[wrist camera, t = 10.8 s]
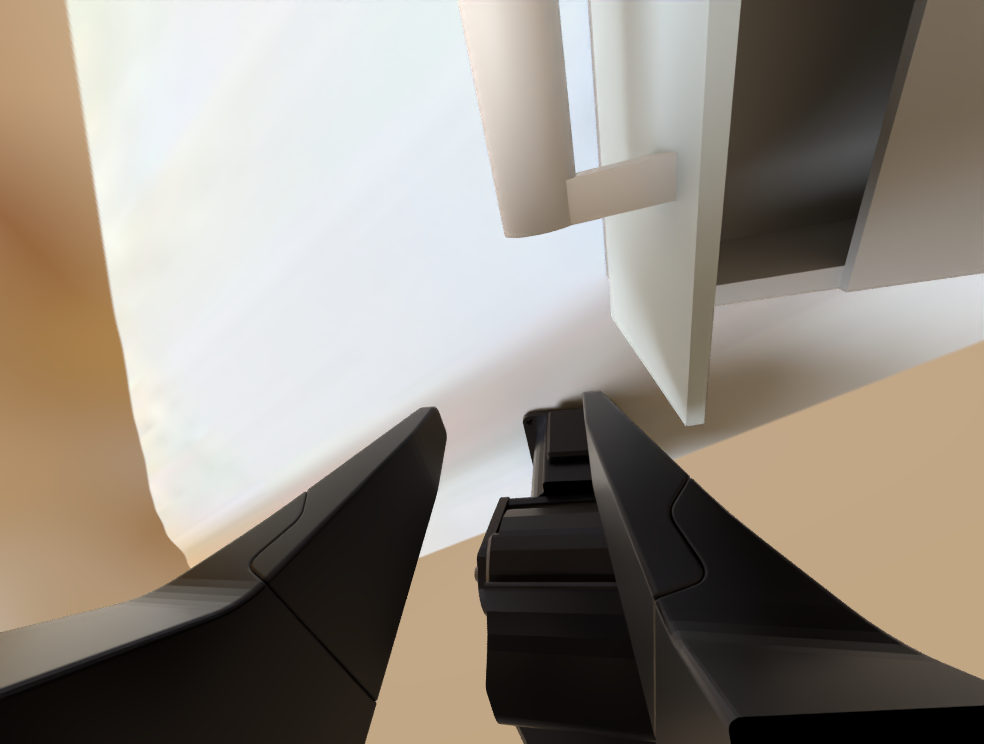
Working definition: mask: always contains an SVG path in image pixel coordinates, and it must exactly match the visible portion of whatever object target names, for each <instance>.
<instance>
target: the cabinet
mask: <svg viewBox="0 0 984 744" xmlns="http://www.w3.org/2000/svg"><path fill="white" fill-rule="evenodd" d="M588 8H589V23H590V38H591V52H592V67H593V82H594V96H595V111H596V126H597V140H598V155H599V167H602V166H601V151H600V136H599V120H598V105H597V90H596V74H595V59H594V44H593V29H592V13H591V0H588ZM603 228H604V243H605V258H606V272H607V276H608V279H609V273H608V258H607V242H606V227H605V217H604V218H603ZM980 273H984V0H741V8H740V20H739V31H738V42H737V54H736V65H735V77H734V88H733V99H732V111H731V122H730V134H729V145H728V156H727V168H726V179H725V191H724V202H723V213H722V225H721V236H720V247H719V259H718V270H717V282H716V293H715V304H714V306H719V305H726V304H733V303H740V302H747V301H754V300H761V299H768V298H775V297H782V296H789V295H796V294H803V293H810V292H817V291H824V290H831V289H838V288H839V289H841V290H843V291H845V292H852V291H859V290H866V289H873V288H880V287H888V286H895V285H902V284H909V283H916V282H923V281H930V280H938V279H945V278H952V277H959V276H966V275H973V274H980Z"/></svg>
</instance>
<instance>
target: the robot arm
mask: <svg viewBox="0 0 984 744" xmlns="http://www.w3.org/2000/svg"><path fill="white" fill-rule="evenodd" d="M582 398H583V408H581V409H569V410H558V411H547V412H536V413H527V414H526V415H524V417H523V425H524V429H525V433H526V438H527V442H528V446H529V450H530V455H531V459H532V463H533V477H532V491H531V497H526V498H511V499H510V498H509V497H501V498H500V499H499V502H498V504H497V507H496V509H495V511H494V514H493V516H492V519H491V521H490V524H489V526H488V529H487V531H486V534H485V536H484V539H483V542H482V544H481V547H480V549H479V552H478V555H477V567H476V568H475V579H476V581H477V582H478V590H479V597H480V602H481V606H482V609H483V611H484V614H485V615H486V616H487V631H488V632H487V633H488V636H487V669H486V691H487V695H488V698H489V701H490V704H491V707H492V710H493V713H494V716H495V719H496V721H497V722H498V723H499V724H505V725H513V726H516V728H517V730H518V732H519V734H520V736H521V739H522V740H523V743H524V744H984V680H982V679H980V678H978V677H976V676H973V675H971V674H968V673H966V672H964V671H961V670H959V669H956V668H954V667H952V666H949V665H947V664H945V663H942V662H940V661H938V660H936V659H933V658H931V657H929V656H927V655H925V654H922V653H921V652H919V651H917V650H915V649H913V648H911V647H909V646H908V645H906V644H904V643H903V642H901V641H899V640H897V639H896V638H894V637H892V636H891V635H889V634H887V633H886V632H884V631H883V630H881V629H880V628H878V627H877V626H875V625H874V624H872V623H871V622H869V621H868V620H866V619H865V618H863V617H862V616H861V615H859V614H858V613H857V612H855V611H854V610H853V609H851V608H850V607H849V606H847V605H846V604H845V603H843V602H842V601H841V600H840V599H838V598H837V597H836V596H834V595H833V594H832V593H831V592H829V591H828V590H827V589H825V588H824V587H823V586H822V585H820V584H819V583H818V582H816V581H815V580H814V579H813V578H811V577H810V576H809V575H807V574H806V573H805V572H803V571H802V570H801V569H800V568H798V567H797V566H796V565H795V564H793V563H792V562H791V561H789V560H788V559H787V558H786V557H784V556H783V555H782V554H780V553H779V552H778V551H777V550H775V549H774V548H773V547H771V546H770V545H769V544H768V543H766V542H765V541H764V540H763V539H761V538H760V537H759V536H758V535H756V534H755V533H754V532H753V531H751V530H750V529H749V528H748V527H746V526H745V525H744V524H743V523H741V522H740V521H739V520H738V519H737V518H735V517H734V516H733V515H732V514H730V513H729V512H728V511H727V510H726V509H725V508H724V507H723V506H722V505H720V504H719V503H718V502H717V501H716V500H715V499H714V498H713V497H711V496H710V495H709V494H708V493H707V492H706V491H705V490H704V489H703V488H702V487H701V486H700V485H699V484H698V483H697V482H695V480H694V479H692V478H690V476H689V475H688V474H687V473H686V472H685V471H684V470H683V469H682V468H681V467H680V466H679V465H678V464H677V463H675V462H674V461H673V460H672V459H671V458H670V457H669V456H668V455H667V454H666V453H665V452H664V451H663V450H662V449H661V448H660V447H659V446H658V445H657V444H656V443H655V442H653V441H652V440H651V439H650V438H649V437H648V436H647V435H646V434H645V433H644V432H643V431H642V430H641V429H640V428H639V427H638V426H637V425H636V424H635V423H634V422H633V421H631V420H630V419H629V418H628V417H627V416H626V415H625V414H624V413H623V412H622V411H621V410H620V409H619V408H618V407H617V406H616V405H615V404H614V403H613V402H612V401H611V400H609V399H608V398H607V397H606V396H605V395H604V394H603V393H602V392H601V391H590V392H584V393H583V394H582ZM529 419H530V420H533V421H528V420H529ZM446 440H447V434H446V430H445V427H444V424H443V422H442V419H441V416H440V413H439V411H438V409H437V408H436V407H422V408H420V409H418V410H417V411H415V412H414V413H413V414H411V415H410V416H409V417H407V418H406V419H404V420H403V421H402V422H400V423H399V424H398V425H396V426H395V427H393V428H392V429H391V430H389V431H388V432H386V433H385V434H384V435H382V436H381V437H380V438H378V439H377V440H375V441H374V442H373V443H371V444H370V445H369V446H367V447H366V448H364V449H363V450H362V451H360V452H359V453H358V454H356V455H355V456H353V457H352V458H351V459H349V460H348V461H347V462H345V463H344V464H342V465H341V466H340V467H338V468H337V469H336V470H334V471H333V472H331V473H330V474H329V475H327V476H326V477H325V478H323V479H322V480H320V481H319V482H318V483H316V484H315V485H314V486H312V487H311V488H309V489H308V491H307V492H304V493H302V494H301V495H300V496H298V497H297V498H296V499H294V500H293V501H291V502H290V503H289V504H287V505H286V506H284V507H283V508H282V509H280V510H279V511H277V512H276V513H274V514H273V515H272V516H270V517H269V518H267V519H266V520H264V521H263V522H261V523H260V524H258V525H257V526H255V527H254V528H252V529H251V530H249V531H248V532H246V533H245V534H243V535H242V536H240V537H239V538H237V539H236V540H234V541H233V542H231V543H230V544H228V545H226V546H225V547H223V548H222V549H220V550H219V551H217V552H216V553H214V554H213V555H211V556H210V557H208V558H206V559H205V560H203V561H202V562H200V563H199V564H197V565H196V566H194V567H193V568H191V569H190V570H188V571H187V572H185V573H184V574H182V575H180V576H179V577H177V578H176V579H174V580H172V581H171V582H169V583H167V584H166V585H164V586H162V587H160V588H158V589H156V590H154V591H152V592H150V593H148V594H145V595H143V596H141V597H138V598H135V599H132V600H129V601H126V602H123V603H119V604H116V605H112V606H108V607H103V608H100V609H96V610H91V611H87V612H83V613H79V614H75V615H70V616H66V617H62V618H58V619H54V620H50V621H46V622H42V623H38V624H34V625H29V626H25V627H21V628H17V629H13V630H9V631H5V632H0V744H365V741H366V738H367V734H368V731H369V727H370V724H371V721H372V717H373V713H374V710H375V707H376V702H375V701H376V700H377V699H378V696H379V692H380V689H381V685H382V682H383V678H384V675H385V671H386V668H387V664H388V661H389V658H390V654H391V651H392V647H393V644H394V640H395V637H396V633H397V630H398V627H399V623H400V619H401V616H402V613H403V609H404V606H405V602H406V599H407V596H408V592H409V589H410V585H411V582H412V578H413V575H414V571H415V568H416V564H417V561H418V558H419V554H420V551H421V547H422V544H423V540H424V537H425V533H426V530H427V527H428V523H429V520H430V516H431V513H432V509H433V506H434V502H435V499H436V495H437V491H438V486H439V481H440V475H441V469H442V464H443V458H444V452H445V446H446Z"/></svg>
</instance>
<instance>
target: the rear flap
mask: <svg viewBox="0 0 984 744" xmlns="http://www.w3.org/2000/svg"><path fill="white" fill-rule="evenodd" d="M458 5H459V10H460V15H461V20H462V25H463V30H464V35H465V40H466V45H467V50H468V55H469V60H470V65H471V70H472V75H473V80H474V85H475V90H476V95H477V100H478V105H479V110H480V115H481V120H482V125H483V130H484V135H485V140H486V145H487V150H488V155H489V160H490V164H491V169H492V174H493V179H494V184H495V189H496V194H497V199H498V204H499V209H500V214H501V219H502V224H503V229H504V234H505V237H508V238H520V237H528V236H534V235H540V234H544V233H548V232H552V231H556V230H559V229H562V228H565V227H568V226H570V225H574V224H578V223H583V222H587V221H591V220H595V219H600V218H604V217H605V227H606V242H607V258H608V273H609V288H610V304H611V317H612V319H613V320H614V321H615V323H616V324H617V326H618V327H619V329H620V330H621V332H622V333H623V335H624V336H625V338H626V339H627V341H628V342H629V344H630V345H631V346H632V348H633V349H634V351H635V352H636V354H637V355H638V357H639V358H640V360H641V361H642V363H643V364H644V366H645V367H646V369H647V370H648V371H649V373H650V374H651V376H652V377H653V379H654V380H655V382H656V383H657V385H658V386H659V388H660V389H661V391H662V392H663V394H664V395H665V396H666V398H667V399H668V401H669V402H670V404H671V405H672V407H673V408H674V410H675V411H676V413H677V414H678V416H679V417H680V419H681V420H682V421H683V423H684V424H685V426H692V425H699V424H704V418H705V407H706V396H707V384H708V373H709V361H710V350H711V339H712V327H713V316H714V304H715V293H716V282H717V270H718V259H719V247H720V236H721V225H722V213H723V202H724V191H725V179H726V168H727V156H728V145H729V134H730V122H731V111H732V99H733V88H734V77H735V65H736V54H737V42H738V31H739V20H740V8H741V0H591V13H592V29H593V44H594V59H595V74H596V90H597V105H598V120H599V136H600V151H601V166H602V167H598V168H594V169H590V170H586V171H582V172H578V173H575V164H574V153H573V143H572V133H571V123H570V113H569V103H568V92H567V82H566V72H565V62H564V52H563V41H562V31H561V21H560V11H559V1H558V0H458Z"/></svg>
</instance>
